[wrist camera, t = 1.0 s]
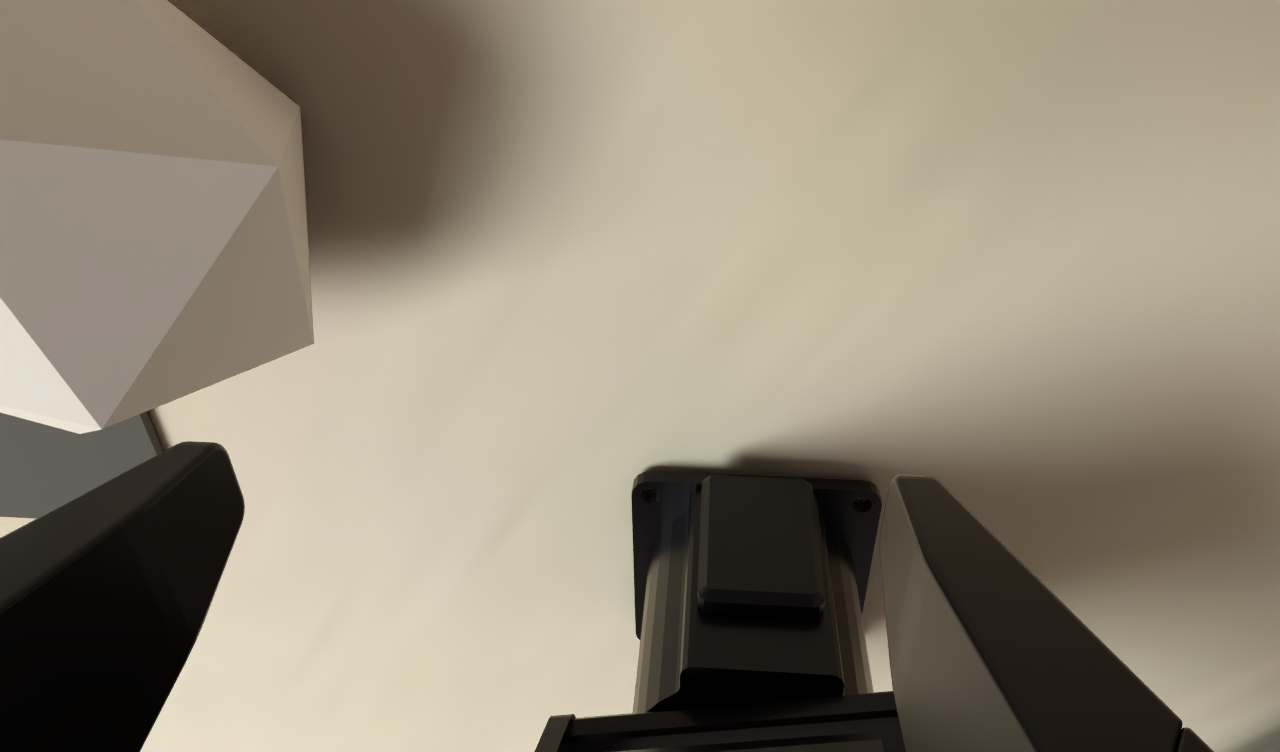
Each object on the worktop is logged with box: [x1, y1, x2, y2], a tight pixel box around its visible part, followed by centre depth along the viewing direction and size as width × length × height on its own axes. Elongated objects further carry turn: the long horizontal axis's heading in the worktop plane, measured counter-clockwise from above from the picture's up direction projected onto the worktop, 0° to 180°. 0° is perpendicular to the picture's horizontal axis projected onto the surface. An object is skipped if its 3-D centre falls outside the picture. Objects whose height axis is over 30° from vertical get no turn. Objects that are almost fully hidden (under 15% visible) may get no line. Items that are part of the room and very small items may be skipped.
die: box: [0, 0, 314, 434], centre depth 16 cm, size 8×9×10 cm
